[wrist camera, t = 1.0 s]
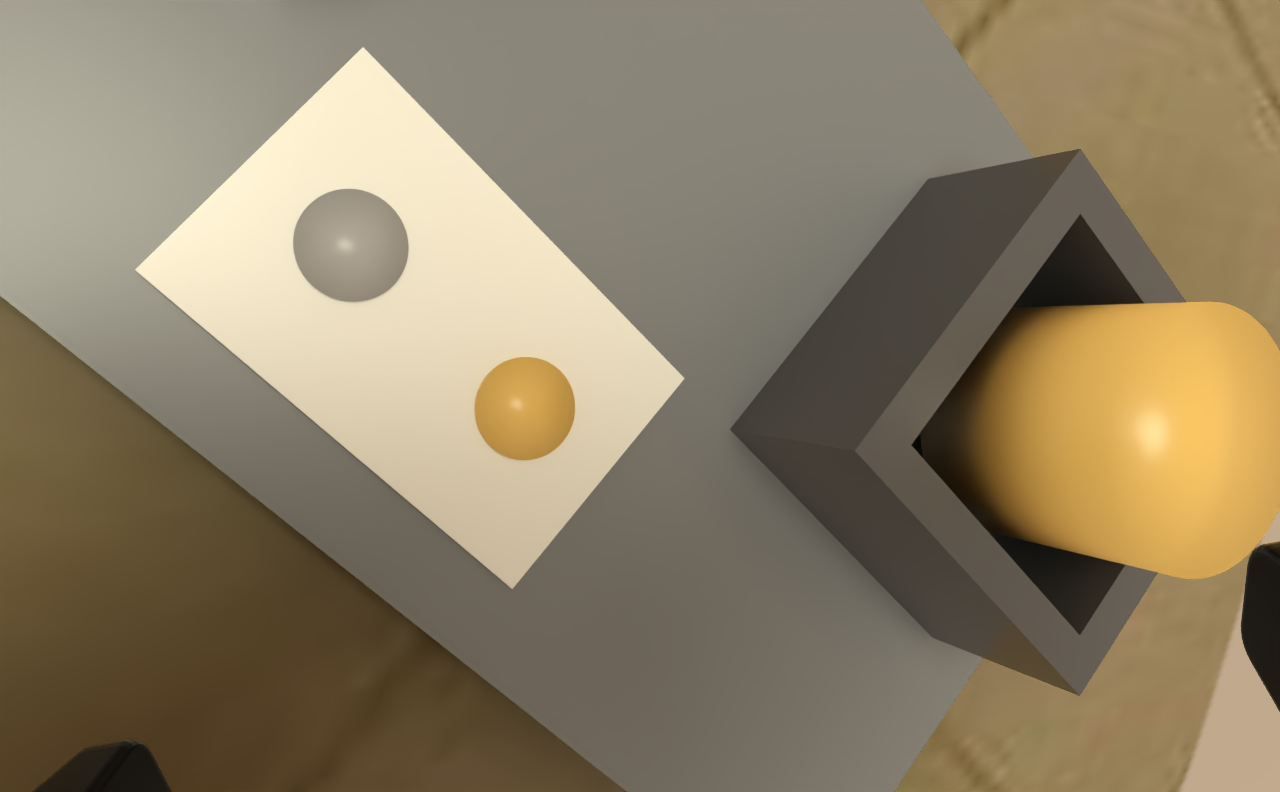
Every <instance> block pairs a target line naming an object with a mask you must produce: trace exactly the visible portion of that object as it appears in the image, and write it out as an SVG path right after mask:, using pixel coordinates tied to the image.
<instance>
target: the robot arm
mask: <svg viewBox="0 0 1280 792" xmlns="http://www.w3.org/2000/svg"><path fill="white" fill-rule="evenodd" d="M1241 633H1242V640H1243V644H1244V647H1245V650H1246V652H1247V655H1248V657H1249V659H1250V661H1251V663H1252V664H1253V666H1254V668H1255V670H1256V671H1257V673H1258V675H1259V677H1260V678H1261V680H1262V681H1263V684H1264V685H1265V687H1266V689H1267V691H1268V692H1269V694H1270V696H1271V697H1272V699H1273V701H1274V703H1275V704H1276V706H1277V708H1278V710H1279V711H1280V542H1274V543H1268V544H1263V545H1260V546H1259V547H1257V548H1255V549H1254V550H1253V551H1252V553H1251V555H1250V557H1249V561H1248V566H1247V575H1246V584H1245V593H1244V602H1243V611H1242V620H1241ZM33 792H172V791H171V789H170V787H169V786H168V784H167V782H166V780H165V778H164V776H163V774H162V772H161V770H160V768H159V766H158V764H157V762H156V761H155V759H154V757H153V755H152V753H151V751H150V750H149V748H148V747H147V745H145V744H144V743H143V742H142V741H140V740H137V739H125V740H119V741H113V742H108V743H102V744H96V745H93V746H89V747H87V748H85V749H83V750H82V751H81V752H79V753H78V754H77V755H76V756H74V757H73V758H72V759H71V760H70V761H68V762H67V763H66V764H65V765H64V766H62V767H61V768H60V769H59V770H58V771H56V772H55V773H54V774H53V775H52V776H51V777H49V778H48V779H47V780H46V781H45V782H43V783H42V784H41V785H40V786H39V787H37V788H36V789H35V790H34V791H33Z"/></svg>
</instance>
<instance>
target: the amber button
mask: <svg viewBox="0 0 1280 792" xmlns="http://www.w3.org/2000/svg"><path fill="white" fill-rule="evenodd" d="M920 433H921V446H922V452H923V457H924V460H925V461H926V462H927V463H928V465H929V466H930V467H931V468H932V469H933V470H934V471H935V472H936V474H937V475H938V476H939V477H940V478H941V479H942V480H943V482H944V483H945V484H946V485H947V486H948V487H949V488H950V489H951V491H952V492H953V493H954V494H955V495H956V496H957V497H958V498H959V500H960V501H961V502H962V503H963V504H964V505H965V506H966V507H967V509H968V510H969V511H970V512H971V513H972V514H973V515H974V517H975V518H976V519H977V520H978V521H979V522H980V523H981V524H982V526H983V527H984V528H985V529H986V530H987V531H988V532H992V533H996V534H1000V535H1004V536H1008V537H1012V538H1017V539H1021V540H1025V541H1029V542H1033V543H1037V544H1042V545H1046V546H1050V547H1054V548H1058V549H1062V550H1067V551H1071V552H1075V553H1079V554H1083V555H1087V556H1091V557H1096V558H1100V559H1104V560H1108V561H1112V562H1116V563H1121V564H1125V565H1129V566H1133V567H1137V568H1141V569H1146V570H1150V571H1154V572H1158V573H1162V574H1166V575H1170V576H1175V577H1179V578H1186V579H1200V578H1207V577H1211V576H1214V575H1217V574H1220V573H1222V572H1224V571H1226V570H1228V569H1230V568H1231V567H1233V566H1234V565H1236V564H1237V563H1239V562H1240V561H1241V560H1242V559H1243V558H1245V557H1246V556H1247V555H1248V554H1249V553H1250V552H1251V551H1252V550H1253V549H1254V548H1255V546H1256V545H1257V544H1258V543H1259V542H1260V541H1261V539H1262V538H1263V536H1264V535H1265V533H1266V532H1267V531H1268V529H1269V527H1270V526H1271V524H1272V522H1273V520H1274V518H1275V517H1276V515H1277V513H1278V511H1279V508H1280V351H1279V349H1278V348H1277V346H1276V344H1275V342H1274V341H1273V339H1272V338H1271V336H1270V335H1269V334H1268V332H1267V331H1266V330H1265V328H1264V327H1263V326H1262V325H1261V324H1260V323H1259V322H1258V321H1257V320H1256V319H1254V318H1253V317H1252V316H1250V315H1249V314H1247V313H1246V312H1245V311H1243V310H1241V309H1239V308H1237V307H1234V306H1232V305H1228V304H1224V303H1220V302H1183V303H1147V304H1111V305H1076V306H1040V307H1012V308H1011V309H1010V311H1009V312H1008V313H1007V315H1006V316H1005V317H1004V319H1003V320H1002V321H1001V323H1000V324H999V326H998V327H997V328H996V330H995V331H994V332H993V334H992V335H991V336H990V338H989V339H988V341H987V342H986V343H985V345H984V346H983V347H982V349H981V350H980V352H979V353H978V354H977V356H976V357H975V358H974V360H973V361H972V362H971V364H970V365H969V367H968V368H967V369H966V371H965V372H964V373H963V375H962V376H961V377H960V379H959V380H958V382H957V383H956V384H955V386H954V387H953V388H952V390H951V391H950V393H949V394H948V395H947V397H946V398H945V399H944V401H943V402H942V403H941V405H940V406H939V408H938V409H937V410H936V412H935V413H934V414H933V416H932V417H931V418H930V420H929V421H928V423H927V424H926V425H925V427H924V428H923V429H922V431H921V432H920Z"/></svg>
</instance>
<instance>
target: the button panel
mask: <svg viewBox="0 0 1280 792" xmlns="http://www.w3.org/2000/svg"><path fill="white" fill-rule="evenodd" d="M0 296H1V297H2V298H4V299H5V300H6V301H7V302H9V303H10V304H11V305H12V306H14V307H15V308H16V309H17V310H19V311H20V312H21V313H23V314H24V315H25V316H26V317H28V318H29V319H30V320H31V321H33V322H34V323H35V324H36V325H38V326H39V327H40V328H41V329H43V330H44V331H45V332H47V333H48V334H49V335H50V336H52V337H53V338H54V339H55V340H57V341H58V342H59V343H60V344H62V345H63V346H64V347H65V348H67V349H68V350H69V351H71V352H72V353H73V354H74V355H76V356H77V357H78V358H79V359H81V360H82V361H83V362H84V363H86V364H87V365H88V366H89V367H91V368H92V369H93V370H95V371H96V372H97V373H98V374H100V375H101V376H102V377H103V378H105V379H106V380H107V381H108V382H110V383H111V384H112V385H113V386H115V387H116V388H117V389H119V390H120V391H121V392H122V393H124V394H125V395H126V396H127V397H129V398H130V399H131V400H132V401H134V402H135V403H136V404H137V405H139V406H140V407H141V408H142V409H144V410H145V411H146V412H148V413H149V414H150V415H151V416H153V417H154V418H155V419H156V420H158V421H159V422H160V423H161V424H163V425H164V426H165V427H166V428H168V429H169V430H170V431H172V432H173V433H174V434H175V435H177V436H178V437H179V438H180V439H182V440H183V441H184V442H185V443H187V444H188V445H189V446H190V447H192V448H193V449H194V450H196V451H197V452H198V453H199V454H201V455H202V456H203V457H204V458H206V459H207V460H208V461H209V462H211V463H212V464H213V465H214V466H216V467H217V468H218V469H220V470H221V471H222V472H223V473H225V474H226V475H227V476H228V477H230V478H231V479H232V480H233V481H235V482H236V483H237V484H238V485H240V486H241V487H242V488H244V489H245V490H246V491H247V492H249V493H250V494H251V495H252V496H254V497H255V498H256V499H257V500H259V501H260V502H261V503H262V504H264V505H265V506H266V507H268V508H269V509H270V510H271V511H273V512H274V513H275V514H276V515H278V516H279V517H280V518H281V519H283V520H284V521H285V522H286V523H288V524H289V525H290V526H292V527H293V528H294V529H295V530H297V531H298V532H299V533H300V534H302V535H303V536H304V537H305V538H307V539H308V540H309V541H310V542H312V543H313V544H314V545H316V546H317V547H318V548H319V549H321V550H322V551H323V552H324V553H326V554H327V555H328V556H329V557H331V558H332V559H333V560H334V561H336V562H337V563H338V564H340V565H341V566H342V567H343V568H345V569H346V570H347V571H348V572H350V573H351V574H352V575H353V576H355V577H356V578H357V579H358V580H360V581H361V582H362V583H364V584H365V585H366V586H367V587H369V588H370V589H371V590H372V591H374V592H375V593H376V594H377V595H379V596H380V597H381V598H382V599H384V600H385V601H386V602H387V603H389V604H390V605H391V606H393V607H394V608H395V609H396V610H398V611H399V612H400V613H401V614H403V615H404V616H405V617H406V618H408V619H409V620H410V621H411V622H413V623H414V624H415V625H417V626H418V627H419V628H420V629H422V630H423V631H424V632H425V633H427V634H428V635H429V636H430V637H432V638H433V639H434V640H435V641H437V642H438V643H439V644H441V645H442V646H443V647H444V648H446V649H447V650H448V651H449V652H451V653H452V654H453V655H454V656H456V657H457V658H458V659H459V660H461V661H462V662H463V663H465V664H466V665H467V666H468V667H470V668H471V669H472V670H473V671H475V672H476V673H477V674H478V675H480V676H481V677H482V678H483V679H485V680H486V681H487V682H489V683H490V684H491V685H492V686H494V687H495V688H496V689H497V690H499V691H500V692H501V693H502V694H504V695H505V696H506V697H507V698H509V699H510V700H511V701H513V702H514V703H515V704H516V705H518V706H519V707H520V708H521V709H523V710H524V711H525V712H526V713H528V714H529V715H530V716H531V717H533V718H534V719H535V720H537V721H538V722H539V723H540V724H542V725H543V726H544V727H545V728H547V729H548V730H549V731H550V732H552V733H553V734H554V735H555V736H557V737H558V738H559V739H561V740H562V741H563V742H564V743H566V744H567V745H568V746H569V747H571V748H572V749H573V750H574V751H576V752H577V753H578V754H579V755H581V756H582V757H583V758H585V759H586V760H587V761H588V762H590V763H591V764H592V765H593V766H595V767H596V768H597V769H598V770H600V771H601V772H602V773H603V774H605V775H606V776H607V777H608V778H610V779H611V780H612V781H614V782H615V783H616V784H617V785H619V786H620V787H621V788H622V789H624V790H625V791H626V792H894V791H895V789H896V788H897V786H898V785H899V783H900V782H901V780H902V779H903V777H904V776H905V774H906V773H907V771H908V770H909V768H910V767H911V765H912V764H913V762H914V761H915V759H916V758H917V756H918V755H919V753H920V752H921V750H922V749H923V747H924V746H925V744H926V743H927V741H928V740H929V738H930V737H931V735H932V734H933V732H934V731H935V729H936V728H937V726H938V725H939V723H940V722H941V720H942V719H943V717H944V716H945V714H946V713H947V711H948V710H949V708H950V707H951V705H952V704H953V702H954V701H955V699H956V698H957V696H958V695H959V693H960V692H961V690H962V689H963V687H964V686H965V684H966V683H967V681H968V680H969V678H970V677H971V675H972V674H973V672H974V671H975V669H976V668H977V666H978V665H979V663H980V662H981V660H982V659H983V658H985V659H988V660H990V661H993V662H995V663H998V664H1000V665H1003V666H1005V667H1008V668H1011V669H1013V670H1016V671H1018V672H1021V673H1023V674H1026V675H1028V676H1031V677H1033V678H1036V679H1038V680H1041V681H1044V682H1046V683H1049V684H1051V685H1054V686H1056V687H1059V688H1061V689H1064V690H1066V691H1069V692H1071V693H1074V694H1077V695H1079V696H1080V695H1081V693H1082V692H1083V690H1084V689H1085V687H1086V685H1087V684H1088V682H1089V681H1090V679H1091V677H1092V676H1093V674H1094V673H1095V671H1096V670H1097V668H1098V666H1099V665H1100V663H1101V662H1102V660H1103V658H1104V657H1105V655H1106V654H1107V652H1108V651H1109V649H1110V647H1111V646H1112V644H1113V643H1114V641H1115V639H1116V638H1117V636H1118V635H1119V633H1120V632H1121V630H1122V628H1123V627H1124V625H1125V624H1126V622H1127V620H1128V619H1129V617H1130V616H1131V614H1132V613H1133V611H1134V609H1135V608H1136V606H1137V605H1138V603H1139V601H1140V600H1141V598H1142V597H1143V595H1144V594H1145V592H1146V590H1147V589H1148V587H1149V586H1150V584H1151V582H1152V581H1153V579H1154V578H1155V576H1156V575H1157V573H1158V572H1154V571H1150V570H1146V569H1141V568H1137V567H1133V566H1129V565H1125V564H1121V563H1116V562H1112V561H1108V560H1104V559H1100V558H1096V557H1091V556H1087V555H1083V554H1079V553H1075V552H1071V551H1067V550H1062V549H1058V548H1054V547H1050V546H1046V545H1042V544H1037V543H1033V542H1029V541H1025V540H1021V539H1017V538H1012V537H1008V536H1004V535H1000V534H996V533H992V532H988V531H987V530H986V529H985V528H984V527H983V526H982V524H981V523H980V522H979V521H978V520H977V519H976V518H975V517H974V515H973V514H972V513H971V512H970V511H969V510H968V509H967V507H966V506H965V505H964V504H963V503H962V502H961V501H960V500H959V498H958V497H957V496H956V495H955V494H954V493H953V492H952V491H951V489H950V488H949V487H948V486H947V485H946V484H945V483H944V482H943V480H942V479H941V478H940V477H939V476H938V475H937V474H936V472H935V471H934V470H933V469H932V468H931V467H930V466H929V465H928V463H927V462H926V461H925V460H924V457H923V452H922V446H921V433H920V432H921V431H922V429H923V428H924V427H925V425H926V424H927V423H928V421H929V420H930V418H931V417H932V416H933V414H934V413H935V412H936V410H937V409H938V408H939V406H940V405H941V403H942V402H943V401H944V399H945V398H946V397H947V395H948V394H949V393H950V391H951V390H952V388H953V387H954V386H955V384H956V383H957V382H958V380H959V379H960V377H961V376H962V375H963V373H964V372H965V371H966V369H967V368H968V367H969V365H970V364H971V362H972V361H973V360H974V358H975V357H976V356H977V354H978V353H979V352H980V350H981V349H982V347H983V346H984V345H985V343H986V342H987V341H988V339H989V338H990V336H991V335H992V334H993V332H994V331H995V330H996V328H997V327H998V326H999V324H1000V323H1001V321H1002V320H1003V319H1004V317H1005V316H1006V315H1007V313H1008V312H1009V311H1010V309H1011V308H1012V307H1040V306H1076V305H1111V304H1147V303H1183V302H1186V301H1185V299H1184V298H1183V297H1182V295H1181V294H1180V292H1179V291H1178V289H1177V288H1176V286H1175V285H1174V284H1173V282H1172V281H1171V279H1170V278H1169V276H1168V275H1167V273H1166V272H1165V271H1164V269H1163V268H1162V266H1161V265H1160V263H1159V262H1158V260H1157V259H1156V257H1155V256H1154V255H1153V253H1152V252H1151V250H1150V249H1149V247H1148V246H1147V244H1146V243H1145V242H1144V240H1143V239H1142V237H1141V236H1140V234H1139V233H1138V231H1137V230H1136V229H1135V227H1134V226H1133V224H1132V223H1131V221H1130V220H1129V218H1128V217H1127V216H1126V214H1125V213H1124V211H1123V210H1122V208H1121V207H1120V205H1119V204H1118V202H1117V201H1116V200H1115V198H1114V197H1113V195H1112V194H1111V192H1110V191H1109V189H1108V188H1107V187H1106V185H1105V184H1104V182H1103V181H1102V179H1101V178H1100V176H1099V175H1098V174H1097V172H1096V171H1095V169H1094V168H1093V166H1092V165H1091V163H1090V162H1089V161H1088V159H1087V158H1086V156H1085V155H1084V153H1083V152H1082V150H1081V149H1077V150H1072V151H1067V152H1062V153H1057V154H1052V155H1047V156H1042V157H1037V158H1034V157H1033V156H1032V154H1031V153H1030V152H1029V150H1028V149H1027V147H1026V146H1025V145H1024V143H1023V142H1022V140H1021V139H1020V138H1019V136H1018V135H1017V133H1016V132H1015V131H1014V129H1013V128H1012V126H1011V125H1010V124H1009V122H1008V121H1007V119H1006V118H1005V117H1004V115H1003V114H1002V112H1001V111H1000V110H999V108H998V107H997V105H996V104H995V103H994V101H993V100H992V98H991V97H990V96H989V94H988V93H987V91H986V90H985V89H984V87H983V86H982V84H981V83H980V82H979V80H978V79H977V77H976V76H975V75H974V73H973V72H972V71H971V69H970V68H969V66H968V65H967V64H966V62H965V61H964V59H963V58H962V57H961V55H960V54H959V52H958V51H957V50H956V48H955V47H954V45H953V44H952V43H951V41H950V40H949V38H948V37H947V36H946V34H945V33H944V31H943V30H942V29H941V27H940V26H939V24H938V23H937V22H936V20H935V19H934V17H933V16H932V15H931V13H930V12H929V10H928V9H927V8H926V6H925V5H924V3H923V2H922V1H921V0H0Z"/></svg>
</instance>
